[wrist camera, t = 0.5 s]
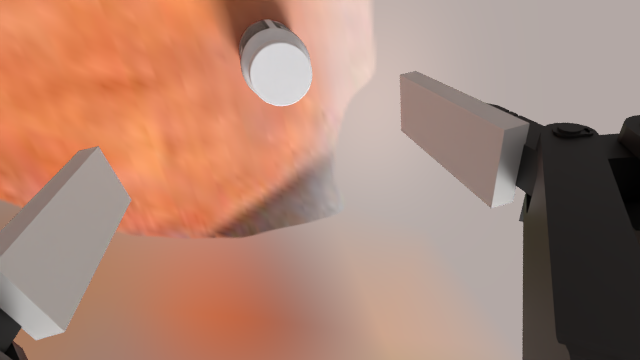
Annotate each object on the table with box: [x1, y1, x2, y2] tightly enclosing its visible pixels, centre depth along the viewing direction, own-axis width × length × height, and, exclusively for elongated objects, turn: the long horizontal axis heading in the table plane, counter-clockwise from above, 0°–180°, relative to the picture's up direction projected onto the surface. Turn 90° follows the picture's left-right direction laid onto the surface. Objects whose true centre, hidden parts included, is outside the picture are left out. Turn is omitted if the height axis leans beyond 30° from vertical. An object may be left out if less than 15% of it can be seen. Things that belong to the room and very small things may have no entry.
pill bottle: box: [239, 19, 312, 106], centre depth 27 cm, size 6×6×10 cm
